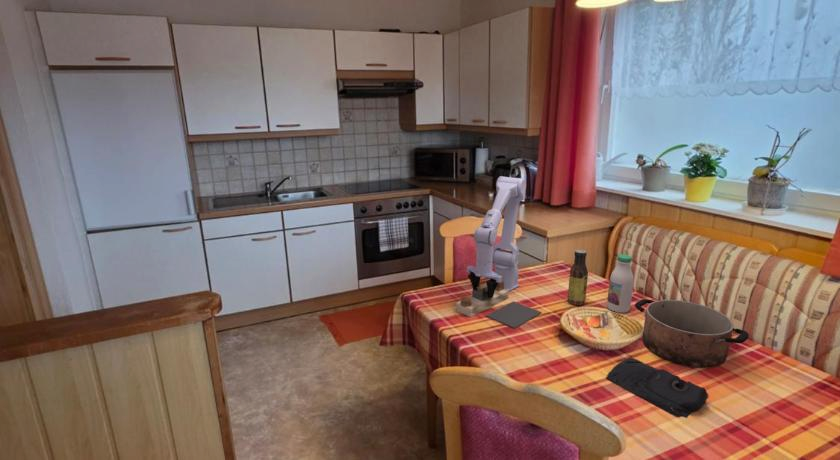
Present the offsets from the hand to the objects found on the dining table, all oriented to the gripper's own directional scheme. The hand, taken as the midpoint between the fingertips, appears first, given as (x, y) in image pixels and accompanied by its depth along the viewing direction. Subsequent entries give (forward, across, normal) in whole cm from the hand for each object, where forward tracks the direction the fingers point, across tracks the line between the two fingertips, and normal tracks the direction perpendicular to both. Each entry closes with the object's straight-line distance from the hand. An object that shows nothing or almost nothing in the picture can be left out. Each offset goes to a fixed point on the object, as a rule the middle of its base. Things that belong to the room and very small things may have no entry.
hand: (483, 294), depth 165 cm
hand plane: (+4, 0, 0) cm, 4 cm away
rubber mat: (+4, +13, +1) cm, 14 cm away
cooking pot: (+4, +61, +20) cm, 64 cm away
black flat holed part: (+4, +63, -6) cm, 63 cm away
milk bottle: (+4, +36, +32) cm, 48 cm away
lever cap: (0, 0, 0) cm, 0 cm away
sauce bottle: (+4, +23, +26) cm, 35 cm away
